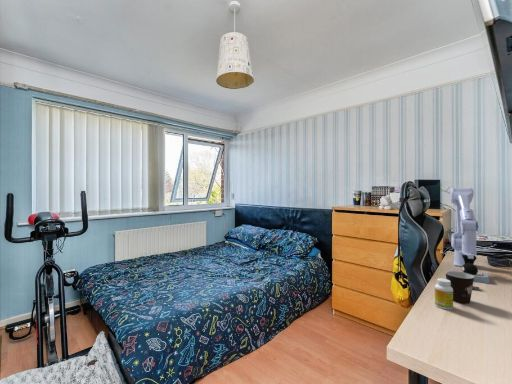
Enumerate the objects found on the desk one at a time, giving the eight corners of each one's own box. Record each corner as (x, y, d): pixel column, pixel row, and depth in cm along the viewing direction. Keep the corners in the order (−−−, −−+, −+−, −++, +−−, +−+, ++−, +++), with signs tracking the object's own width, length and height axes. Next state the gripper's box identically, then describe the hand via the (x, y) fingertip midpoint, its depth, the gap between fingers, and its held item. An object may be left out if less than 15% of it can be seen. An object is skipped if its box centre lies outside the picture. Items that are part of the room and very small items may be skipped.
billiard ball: (480, 277, 123) (480, 265, 122) (466, 276, 124) (466, 264, 124) (473, 273, 128) (473, 262, 128) (459, 272, 130) (459, 261, 130)
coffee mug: (463, 296, 101) (463, 271, 101) (480, 305, 93) (480, 278, 93) (432, 294, 103) (432, 270, 103) (446, 304, 94) (446, 277, 94)
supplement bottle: (448, 311, 89) (448, 283, 89) (431, 305, 94) (431, 278, 94) (456, 307, 91) (456, 281, 91) (439, 302, 96) (439, 276, 96)
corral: (455, 273, 128) (455, 268, 128) (485, 278, 122) (485, 273, 122) (457, 278, 122) (457, 273, 121) (489, 283, 115) (489, 278, 115)
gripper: (457, 240, 138) (457, 264, 138) (460, 244, 126) (460, 272, 126) (474, 241, 134) (474, 267, 134) (479, 246, 122) (479, 274, 122)
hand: (468, 269), depth 130 cm, fingers closed
